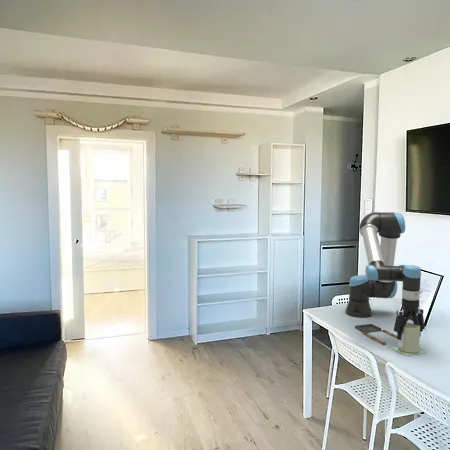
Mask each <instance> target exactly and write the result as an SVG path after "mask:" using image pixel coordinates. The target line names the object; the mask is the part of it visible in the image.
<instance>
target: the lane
mask: <svg viewBox="0 0 450 450" xmlns="http://www.w3.org/2000/svg"><path fill="white" fill-rule="evenodd" d="M381 332H383V333H385V334H386V335H388V336H390V337H392V338H395V339H397V334H394V333H392V332H391V331H388V330H386V329H381ZM361 333H362V335H363V336H366V337H367V338H370V339H372V340H373V341H376V342H377V343H379V344H381V345H382V346H384V345H386V342H384V341H383V340H381V339H379V338H377V337H376V336H373V335H371V334H369V333H366V332H361Z"/></svg>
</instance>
